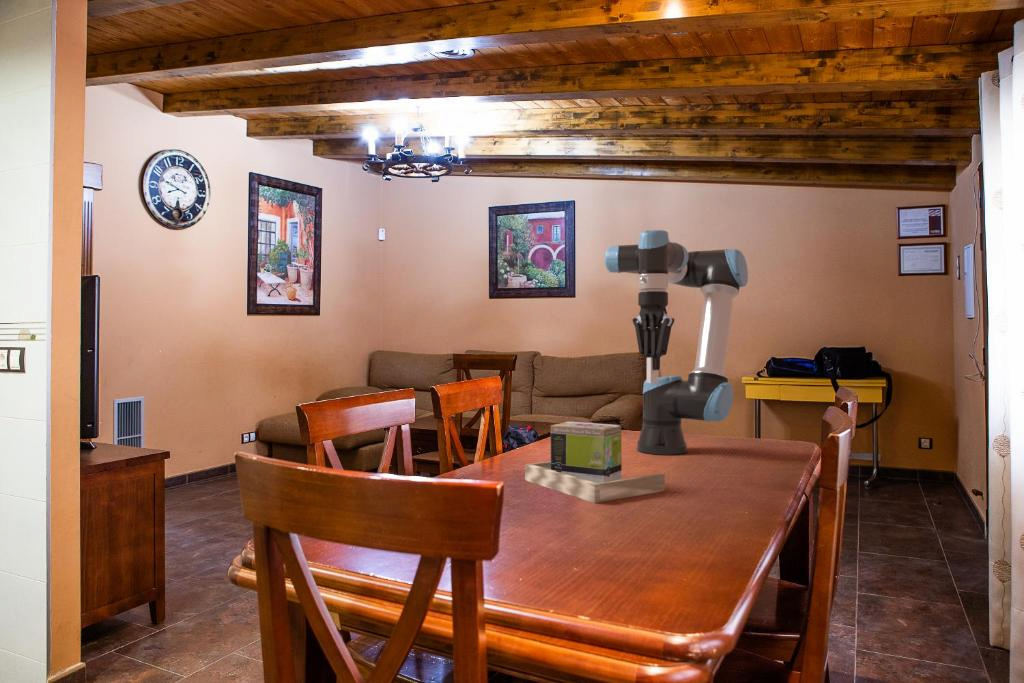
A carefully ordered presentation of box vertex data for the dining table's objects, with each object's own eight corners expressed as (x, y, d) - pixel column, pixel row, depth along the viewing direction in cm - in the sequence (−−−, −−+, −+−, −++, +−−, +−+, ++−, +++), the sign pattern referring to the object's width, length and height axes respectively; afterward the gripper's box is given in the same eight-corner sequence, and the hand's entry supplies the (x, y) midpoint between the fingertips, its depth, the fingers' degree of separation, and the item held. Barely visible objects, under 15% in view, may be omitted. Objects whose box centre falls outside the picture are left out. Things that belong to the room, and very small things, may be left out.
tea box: (622, 484, 176) (622, 424, 176) (604, 492, 168) (605, 429, 167) (568, 476, 184) (568, 419, 184) (549, 484, 176) (549, 424, 175)
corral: (524, 480, 180) (525, 464, 179) (591, 470, 191) (591, 455, 191) (594, 503, 157) (594, 484, 157) (664, 490, 169) (664, 473, 169)
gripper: (624, 291, 187) (624, 381, 188) (661, 289, 176) (660, 385, 177) (645, 292, 191) (645, 380, 192) (682, 290, 181) (681, 383, 181)
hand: (652, 382), depth 185 cm, fingers closed
